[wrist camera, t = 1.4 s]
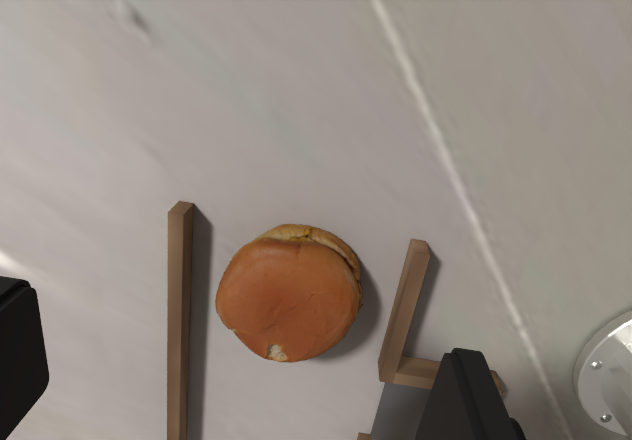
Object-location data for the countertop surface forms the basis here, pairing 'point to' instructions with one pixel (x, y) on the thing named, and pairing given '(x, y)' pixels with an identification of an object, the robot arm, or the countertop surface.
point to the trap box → (395, 370)
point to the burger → (291, 293)
